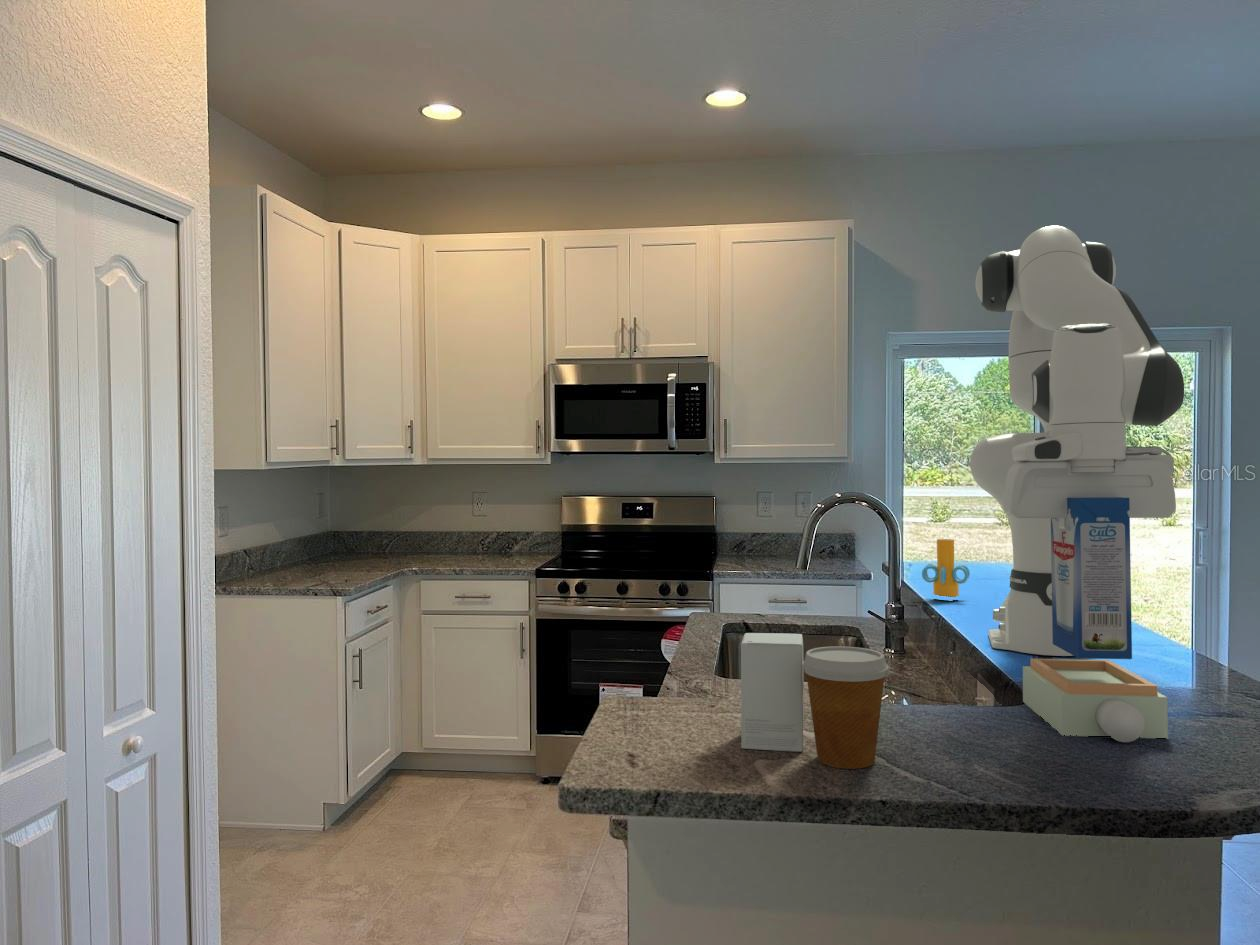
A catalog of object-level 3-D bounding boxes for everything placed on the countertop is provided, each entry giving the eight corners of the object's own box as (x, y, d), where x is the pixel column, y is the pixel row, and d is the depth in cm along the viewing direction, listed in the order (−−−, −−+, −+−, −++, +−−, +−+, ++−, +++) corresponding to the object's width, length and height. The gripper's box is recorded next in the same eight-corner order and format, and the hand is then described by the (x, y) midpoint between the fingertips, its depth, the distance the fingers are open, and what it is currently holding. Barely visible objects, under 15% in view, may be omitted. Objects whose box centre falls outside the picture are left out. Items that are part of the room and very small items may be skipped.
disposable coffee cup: (786, 761, 100) (785, 655, 100) (830, 741, 107) (829, 642, 107) (864, 780, 94) (862, 666, 94) (904, 758, 101) (903, 652, 101)
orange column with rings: (931, 603, 215) (930, 541, 215) (913, 597, 226) (913, 538, 226) (979, 602, 216) (979, 540, 216) (960, 596, 227) (959, 537, 227)
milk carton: (1052, 644, 121) (1050, 496, 121) (1101, 644, 120) (1098, 496, 120) (1079, 658, 111) (1076, 498, 111) (1132, 659, 110) (1129, 497, 110)
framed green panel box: (1023, 701, 124) (1022, 657, 124) (1114, 704, 123) (1113, 659, 123) (1070, 743, 106) (1070, 691, 106) (1179, 746, 104) (1179, 693, 104)
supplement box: (804, 753, 103) (803, 644, 103) (739, 749, 105) (738, 642, 105) (804, 734, 110) (803, 632, 110) (744, 731, 112) (743, 631, 112)
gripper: (1162, 446, 117) (1163, 551, 117) (999, 448, 120) (1000, 550, 120) (1185, 445, 111) (1186, 555, 111) (1013, 447, 114) (1014, 555, 114)
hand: (1088, 553), depth 116 cm, fingers closed on milk carton
